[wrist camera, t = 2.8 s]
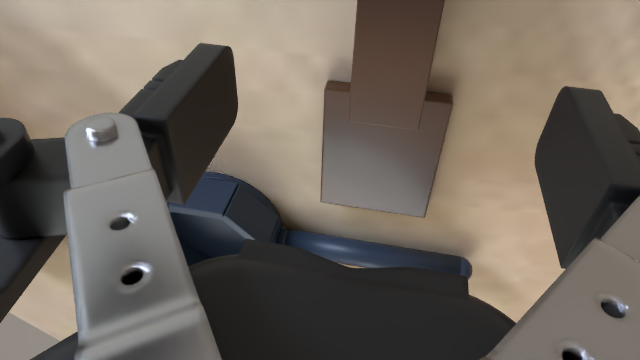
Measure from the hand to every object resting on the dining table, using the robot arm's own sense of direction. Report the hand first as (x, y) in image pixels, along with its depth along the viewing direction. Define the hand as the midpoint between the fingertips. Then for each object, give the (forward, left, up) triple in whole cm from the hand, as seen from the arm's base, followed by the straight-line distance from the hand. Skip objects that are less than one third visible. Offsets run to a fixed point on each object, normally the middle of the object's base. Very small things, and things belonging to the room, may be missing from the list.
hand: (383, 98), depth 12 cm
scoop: (+15, -3, -8) cm, 17 cm away
